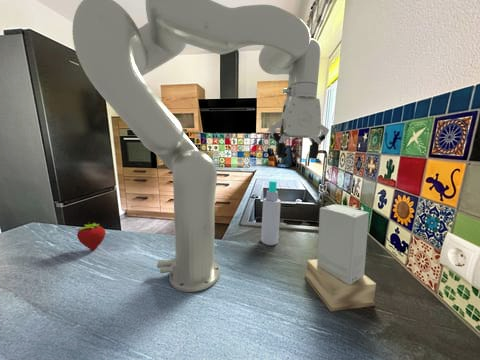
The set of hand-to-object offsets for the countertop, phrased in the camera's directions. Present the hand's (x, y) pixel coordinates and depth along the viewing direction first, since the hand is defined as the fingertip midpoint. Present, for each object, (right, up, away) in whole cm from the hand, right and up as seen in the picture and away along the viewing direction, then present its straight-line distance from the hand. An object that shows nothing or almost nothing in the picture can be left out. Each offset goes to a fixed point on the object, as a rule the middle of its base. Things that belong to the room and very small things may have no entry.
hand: (297, 158), depth 53 cm
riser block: (+7, -32, -9) cm, 34 cm away
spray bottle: (-6, -29, +14) cm, 32 cm away
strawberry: (-62, -28, +5) cm, 68 cm away
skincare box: (+6, -27, -10) cm, 30 cm away
